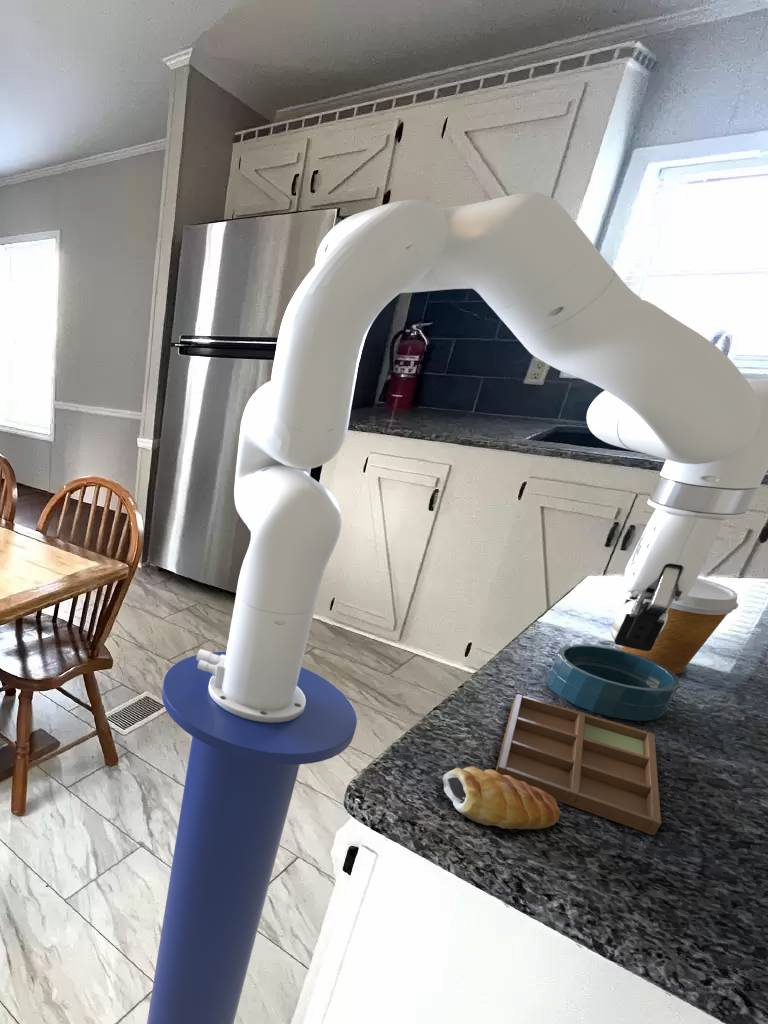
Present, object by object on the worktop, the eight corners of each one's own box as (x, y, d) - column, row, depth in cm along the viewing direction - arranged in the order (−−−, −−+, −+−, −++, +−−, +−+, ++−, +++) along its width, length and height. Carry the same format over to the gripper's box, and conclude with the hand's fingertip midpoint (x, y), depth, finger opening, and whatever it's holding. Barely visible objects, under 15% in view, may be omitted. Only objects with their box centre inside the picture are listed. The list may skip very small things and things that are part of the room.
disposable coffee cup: (694, 659, 90) (735, 583, 85) (704, 688, 84) (749, 608, 78) (603, 639, 96) (637, 566, 91) (606, 665, 89) (643, 588, 84)
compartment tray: (493, 778, 70) (498, 766, 69) (512, 703, 82) (516, 693, 81) (654, 835, 62) (661, 823, 61) (648, 744, 74) (654, 733, 73)
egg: (604, 647, 79) (625, 601, 76) (605, 634, 82) (625, 589, 79) (652, 658, 76) (675, 611, 73) (651, 644, 79) (673, 598, 76)
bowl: (541, 701, 82) (555, 668, 80) (547, 666, 90) (561, 635, 87) (663, 736, 75) (682, 701, 73) (659, 695, 83) (676, 663, 80)
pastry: (534, 794, 67) (547, 766, 66) (571, 843, 61) (587, 813, 60) (434, 781, 69) (444, 754, 68) (461, 827, 64) (473, 798, 62)
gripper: (650, 476, 78) (592, 607, 86) (654, 508, 67) (588, 656, 75) (740, 485, 74) (670, 623, 82) (761, 522, 63) (678, 677, 71)
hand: (631, 637), depth 78 cm, fingers closed on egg, 4 cm apart
